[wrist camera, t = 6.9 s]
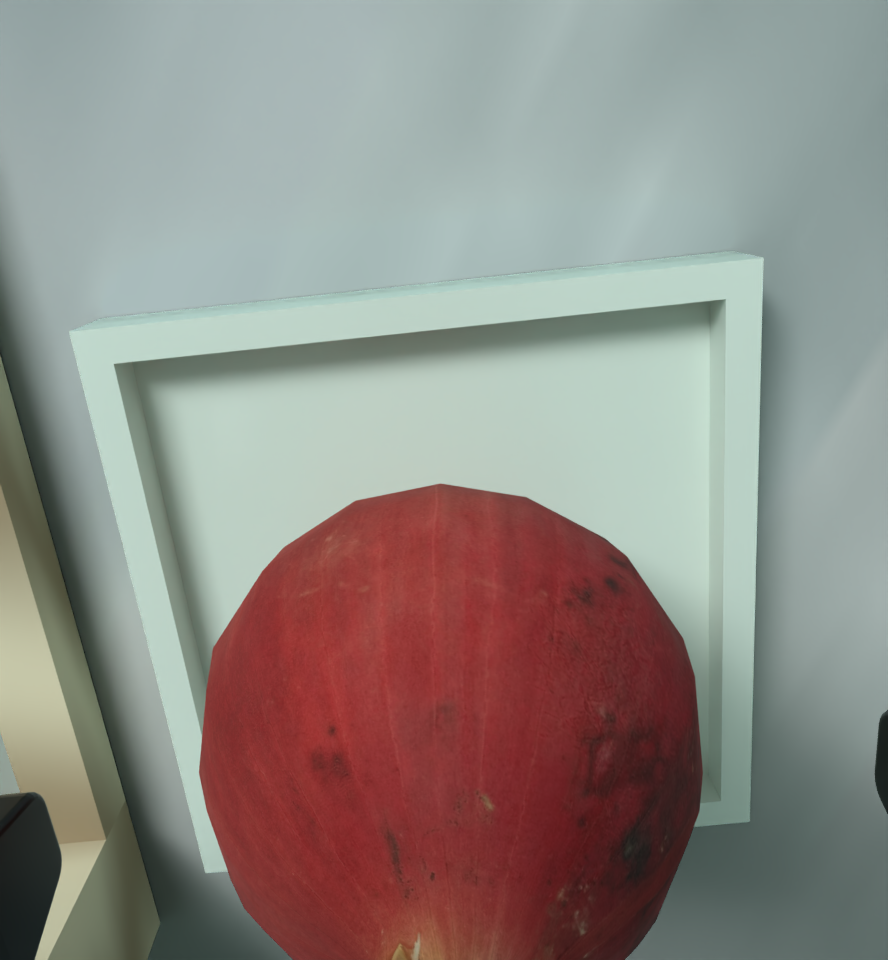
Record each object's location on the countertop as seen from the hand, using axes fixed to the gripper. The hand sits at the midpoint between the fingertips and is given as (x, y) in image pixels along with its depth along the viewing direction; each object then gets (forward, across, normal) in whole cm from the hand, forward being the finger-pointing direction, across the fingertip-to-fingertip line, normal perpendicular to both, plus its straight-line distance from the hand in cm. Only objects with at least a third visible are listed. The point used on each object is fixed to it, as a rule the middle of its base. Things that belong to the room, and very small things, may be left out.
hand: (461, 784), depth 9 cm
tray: (+5, 0, 0) cm, 5 cm away
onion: (+5, 0, 0) cm, 5 cm away
